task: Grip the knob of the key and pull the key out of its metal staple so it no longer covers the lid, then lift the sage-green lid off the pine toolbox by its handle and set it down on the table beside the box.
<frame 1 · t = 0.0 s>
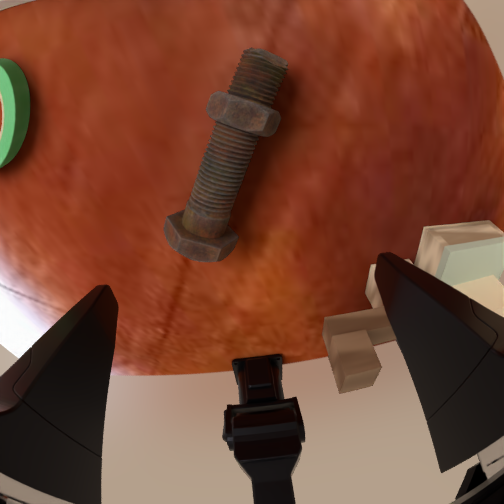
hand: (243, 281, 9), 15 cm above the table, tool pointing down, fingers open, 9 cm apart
bolt: (229, 145, 21), on the table
key: (394, 339, 22), point 8 cm above the table, slide at 3.6 cm
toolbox: (447, 264, 30), on the table
lid: (465, 284, 26), point 4 cm above the table, touching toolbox
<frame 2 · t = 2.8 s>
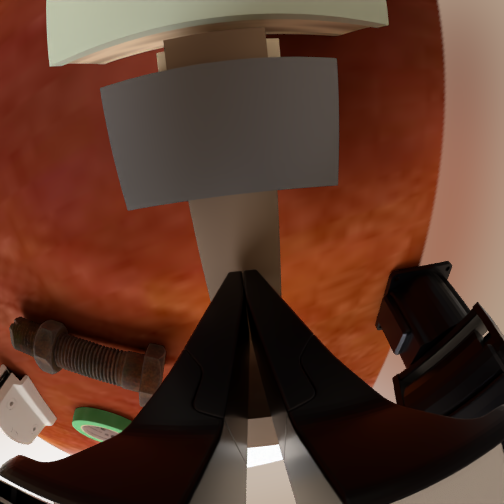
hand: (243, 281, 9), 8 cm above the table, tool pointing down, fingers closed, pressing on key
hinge: (25, 391, 30), on the table
bolt: (88, 334, 22), on the table
key: (240, 262, 8), point 9 cm above the table, slide at 4.1 cm, touching gripper
tape roll: (108, 420, 34), on the table
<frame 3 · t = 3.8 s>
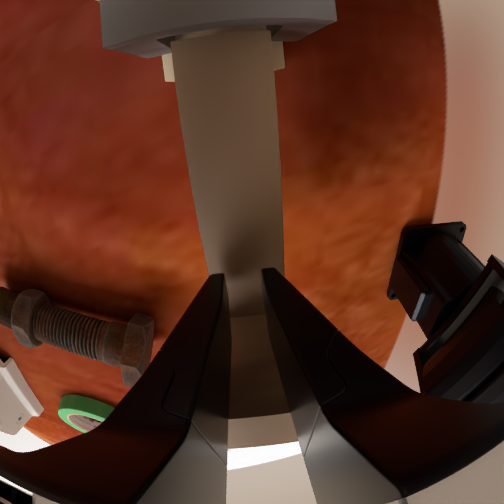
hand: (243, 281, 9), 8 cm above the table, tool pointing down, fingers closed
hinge: (11, 377, 28), on the table
bolt: (71, 305, 20), on the table
key: (245, 261, 8), point 8 cm above the table, slide at 8.1 cm, touching gripper
tape roll: (96, 410, 32), on the table
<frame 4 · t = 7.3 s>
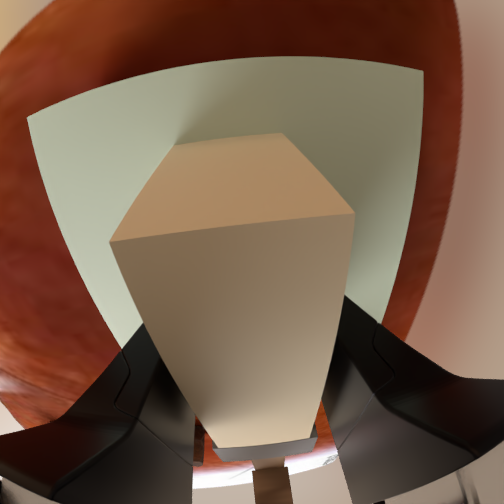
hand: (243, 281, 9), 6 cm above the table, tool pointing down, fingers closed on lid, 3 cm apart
bolt: (144, 420, 29), on the table
key: (269, 471, 16), point 9 cm above the table, slide at 8.0 cm
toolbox: (236, 200, 14), on the table
lid: (240, 241, 10), point 4 cm above the table, touching gripper, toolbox
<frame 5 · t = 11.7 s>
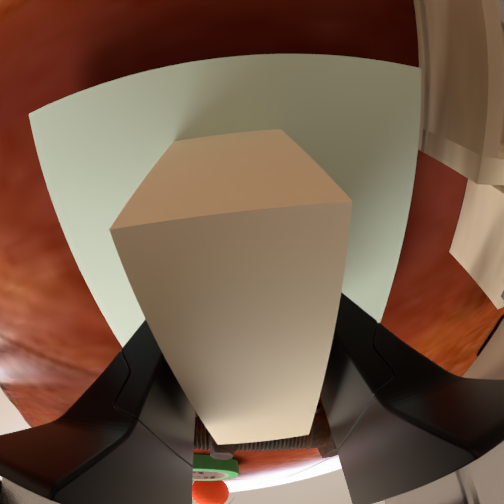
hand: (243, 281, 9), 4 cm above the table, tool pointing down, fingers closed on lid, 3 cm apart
bolt: (254, 409, 23), on the table
key: (501, 399, 10), point 9 cm above the table, slide at 8.0 cm
tape roll: (200, 459, 34), on the table
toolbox: (498, 53, 7), on the table
lid: (239, 237, 10), point 1 cm above the table, touching gripper
clementine: (211, 475, 41), on the table
when the fingers open (3 cm above the table, at t = 11.9 s): lid drops 2 cm, on the table.
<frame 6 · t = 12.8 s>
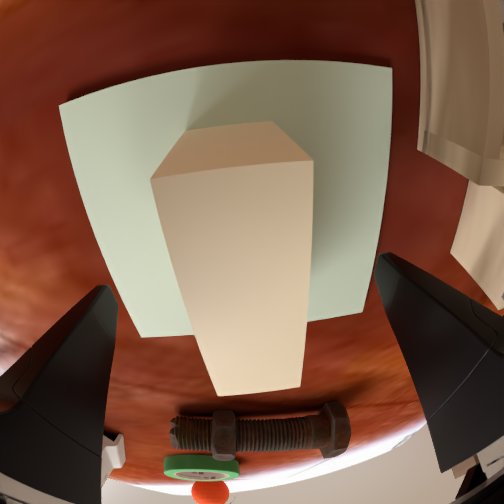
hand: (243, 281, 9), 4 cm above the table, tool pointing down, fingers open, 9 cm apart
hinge: (98, 440, 29), on the table
bolt: (256, 411, 23), on the table
key: (502, 400, 10), point 9 cm above the table, slide at 8.0 cm
tape roll: (201, 460, 34), on the table
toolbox: (499, 54, 7), on the table
lid: (238, 214, 12), on the table
clementine: (212, 475, 41), on the table
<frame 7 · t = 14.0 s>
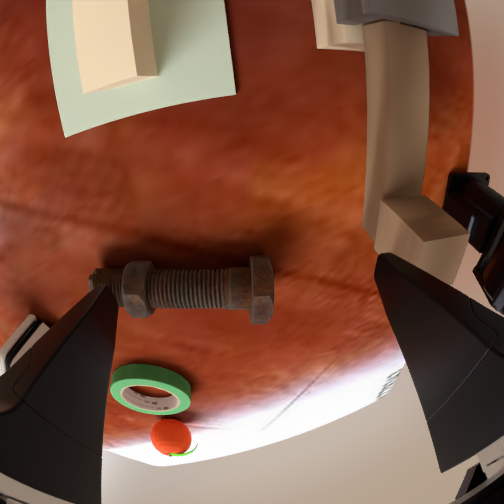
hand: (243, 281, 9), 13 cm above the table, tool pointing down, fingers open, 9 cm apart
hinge: (49, 352, 30), on the table
bolt: (179, 268, 24), on the table
key: (418, 146, 11), point 8 cm above the table, slide at 8.0 cm
tape roll: (151, 382, 35), on the table
lid: (132, 31, 13), on the table
clementine: (174, 419, 42), on the table
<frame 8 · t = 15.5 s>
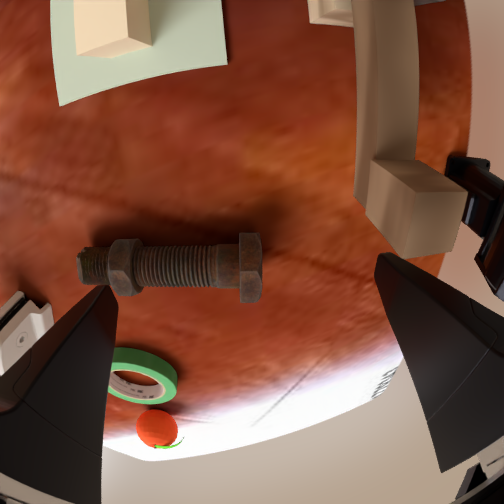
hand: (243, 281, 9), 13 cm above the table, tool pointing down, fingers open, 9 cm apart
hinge: (35, 332, 29), on the table
bolt: (168, 247, 24), on the table
key: (408, 103, 10), point 9 cm above the table, slide at 8.0 cm
tape roll: (137, 368, 34), on the table
lid: (131, 6, 12), on the table
clementine: (161, 410, 41), on the table
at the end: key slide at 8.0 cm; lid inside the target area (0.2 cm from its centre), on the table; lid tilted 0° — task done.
